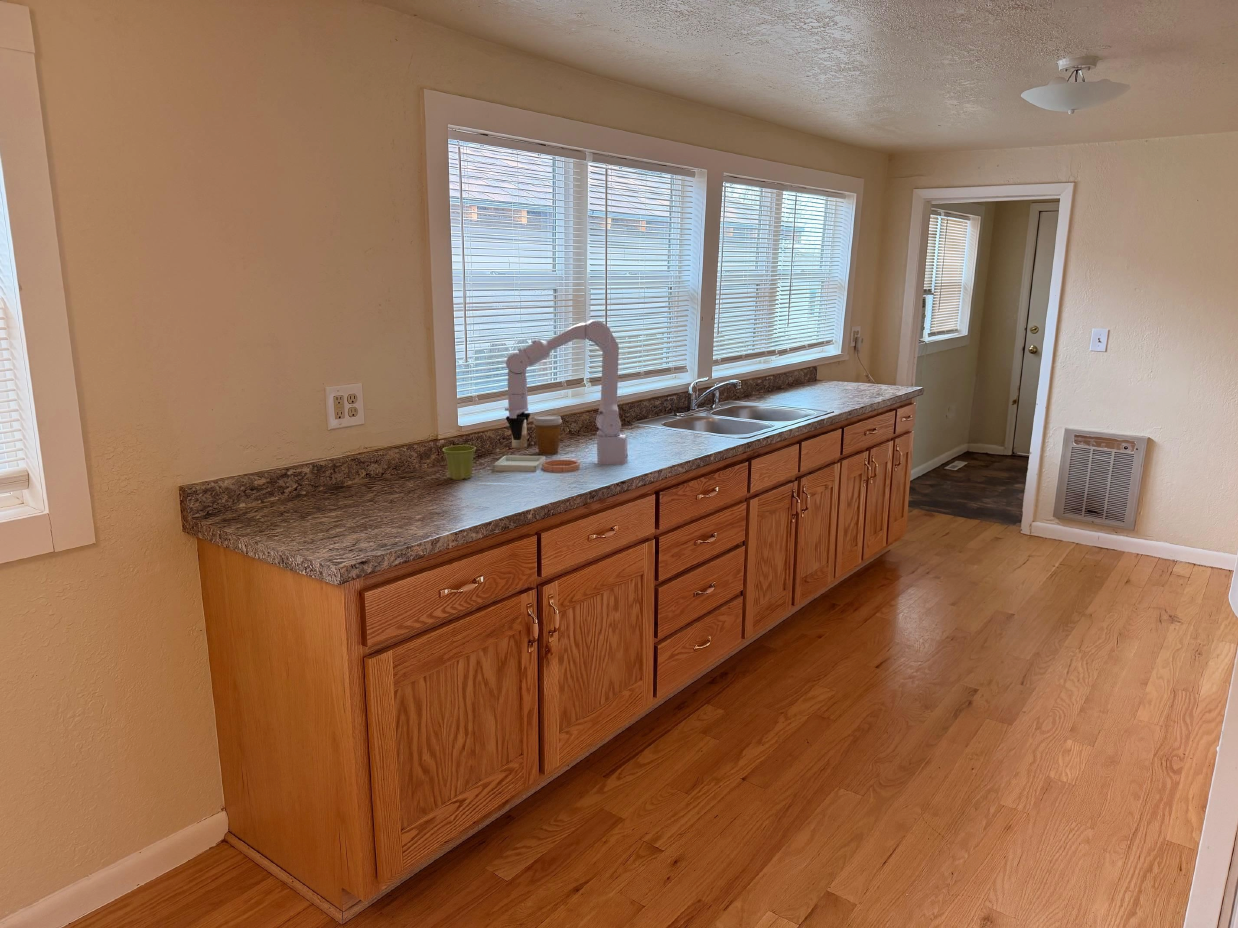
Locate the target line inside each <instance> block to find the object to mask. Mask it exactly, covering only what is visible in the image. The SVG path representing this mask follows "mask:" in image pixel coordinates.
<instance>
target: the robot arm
mask: <svg viewBox="0 0 1238 928" xmlns="http://www.w3.org/2000/svg"><path fill="white" fill-rule="evenodd" d="M575 340H579V341H580V340H581V341H585V340H588V341H589V342H591V343H593V344H595V345H596V347H597V348H598V349H600V350H601V353H602V354H601V355H602V357H601V383H600V384H601V385H600V386H601V391H600V404H599V408H598V412H597V413H598V414H597V415H596V418H595V424H596V427H597V428H598V431H597V432H596V460H595V461H594V463H593V464H594V465H595V464H596V465H626V464H627V462H628V460H629V458H628V457H629V453H628V435H627V434H621V428H622V421H621V420H620V417H619V412H620V411H619V407H618V384H619V383H618V381H619V358H620V357H619V354H620V346H619V343H618V342H617V340H616V338H615V336H614V334H613V333H612V331H611V328H610V327H609V326H607V325H606V324H605V323H604V322H603V321H600V320H596V319H591V318H590V319H587V320H586V321H584V322H583V321H582V322H581V323H578V324H575V325H572V326H571V327H569V328H567V329H565V330H564V331H562V332H561V333H558V334H557V335H554V336H553V337H552V338H550V339H548V340H546V341H544V340H541V339H538V340H536V339H534V340H532V341H531V344H528V345H527V346H526V347H524V348H523V347H522V348H518V349H517V352H512V353H510V354H509V355H508V356H507V358H506V361H505V366H506V368H507V369H508V370H507V399H508V405H507V406H508V407H504V411H507V412H508V415H507V416H506V417H505V420H506V422H507V423H508V426H509V427H510V431H511V437H512V436H513V439H514V440H521V436H522V427H523V423H524V420H525V419H526V427H527V426H528V421H529V419H530V417H531V412H528V411H529V405H528V404H529V403H528V401H529V400H528V379H527V372H526V371H527V369H528V367H529V368H530V367H533V366H534V365H537V364H538V363H540V362H542V361H544V360H546V359H548V358H549V357H550V354H551V352H552V351H554V350H556V349H558V348H560V347H562V346H564V345H566V344H568V343H570V342H572V341H575Z"/></svg>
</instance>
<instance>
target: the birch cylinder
mask: <svg viewBox="0 0 1238 928" xmlns="http://www.w3.org/2000/svg"><path fill="white" fill-rule="evenodd" d="M527 435H528V434H527V426H526V419H525V420H524V423H523V427H522V436H521V440H514V439H513V436H512V435H511V447H512V448H519V449H520V448H526V447H527V446H528V443H527V442H528V441H527V439H528V437H527Z"/></svg>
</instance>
